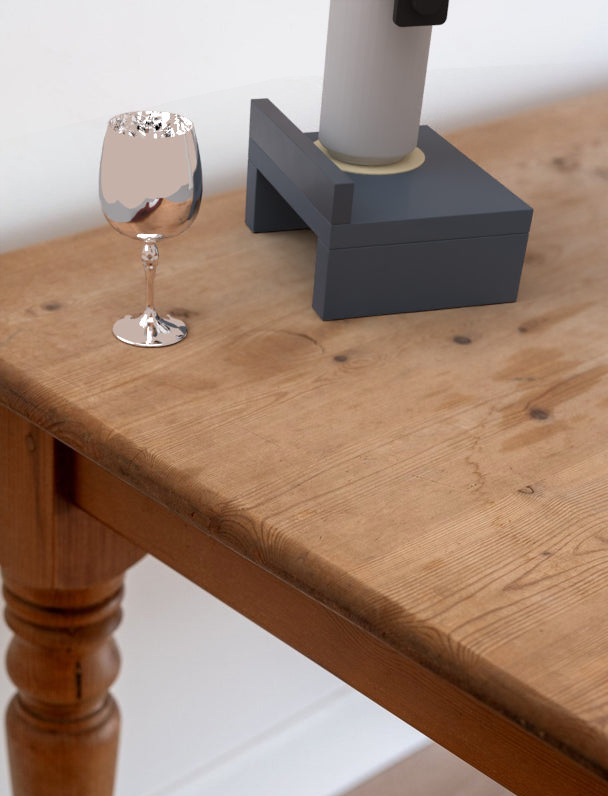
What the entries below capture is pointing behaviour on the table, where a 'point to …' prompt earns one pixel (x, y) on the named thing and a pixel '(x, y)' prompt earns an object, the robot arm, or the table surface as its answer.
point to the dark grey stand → (387, 221)
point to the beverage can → (372, 83)
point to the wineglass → (150, 202)
